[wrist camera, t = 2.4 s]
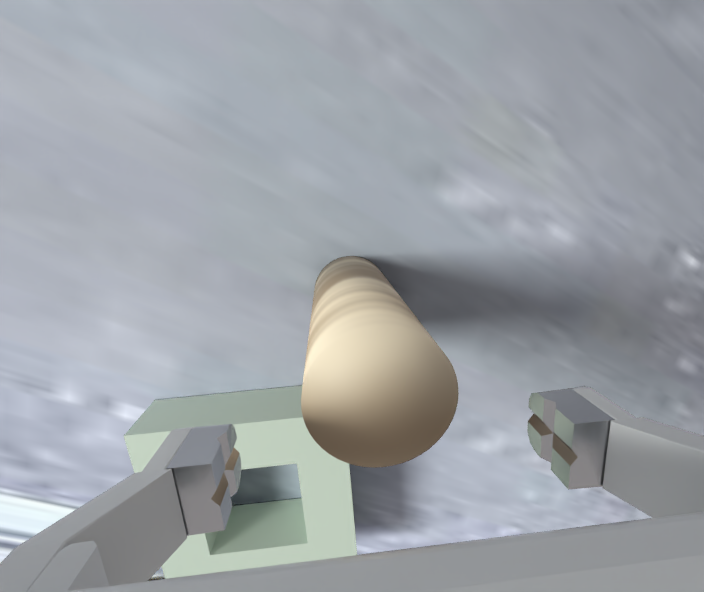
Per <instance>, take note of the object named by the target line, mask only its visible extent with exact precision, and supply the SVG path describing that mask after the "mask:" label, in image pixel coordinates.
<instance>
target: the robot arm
mask: <svg viewBox="0 0 704 592" xmlns="http://www.w3.org/2000/svg"><path fill="white" fill-rule="evenodd" d="M529 408H530V410H531V411H532V412H533V415H532V417H531V418H530V419H529V421H528V436H529V439H530V443H531V445H532V447H533V449H534V450H535V452H536V453H537V454H538V455H539V456H540V457H541V458H543V459H545V460H547V461H549V462H551V470H552V471H553V473H554V474H555V475H556V476H557V477H558V478H559V479H560V481H561V482H562V483H563V484H564V485H565V486H566V487H567V488H568V489H578V488H590V487H601V486H603V489H605V490H607V491H608V492H610V493H612V494H613V495H615V496H617V497H618V498H620V499H622V500H624V501H625V502H627V503H629V504H630V505H632V506H634V507H635V508H637V509H639V510H640V511H642V512H644V513H646V514H647V515H649V516H651V517H652V518H649V519H641V520H633V521H625V522H617V523H608V524H600V525H592V526H584V527H576V528H568V529H560V530H552V531H544V532H536V533H528V534H520V535H512V536H504V537H496V538H488V539H480V540H472V541H465V542H457V543H449V544H441V545H433V546H425V547H417V548H409V549H401V550H393V551H385V552H377V553H369V554H361V555H353V556H345V557H337V558H329V559H321V560H313V561H305V562H296V563H288V564H280V565H272V566H264V567H256V568H248V569H240V570H232V571H224V572H216V573H208V574H200V575H192V576H184V577H176V578H168V579H160V580H152V581H148V580H149V579H150V578H151V577H152V576H153V575H154V574H155V573H156V571H157V570H158V569H159V568H160V567H161V566H162V565H163V564H164V563H165V562H166V561H167V560H168V558H169V557H170V556H171V555H172V554H173V553H174V552H175V551H176V550H177V549H178V548H179V547H180V545H181V544H182V543H183V542H184V541H185V540H186V539H187V536H189V535H196V534H203V533H210V532H216V531H223V530H225V528H226V525H227V522H228V519H229V516H230V513H231V509H232V501H231V497H232V496H233V495H234V494H235V493H236V492H237V491H238V487H239V484H240V478H241V458H240V453H239V452H238V451H237V450H236V449H235V448H234V445H235V442H236V440H237V435H236V431H235V427H234V426H233V424H224V425H212V426H200V427H188V428H179V429H174V430H172V431H171V432H170V433H169V434H168V436H167V437H166V439H165V440H164V441H163V443H162V444H161V446H160V447H159V448H158V450H157V451H156V453H155V454H154V455H153V457H152V458H151V459H150V461H149V462H148V464H147V465H146V466H145V468H144V469H143V471H142V472H137V473H134V474H132V475H131V476H129V477H127V478H126V479H124V480H123V481H121V482H119V483H118V484H116V485H115V486H113V487H111V488H110V489H108V490H107V491H105V492H103V493H102V494H100V495H99V496H97V497H95V498H94V499H92V500H91V501H89V502H88V503H86V504H84V505H83V506H81V507H80V508H78V509H76V510H75V511H73V512H72V513H70V514H68V515H67V516H65V517H64V518H62V519H60V520H59V521H57V522H56V523H54V524H52V525H51V526H49V527H48V528H46V529H44V530H43V531H41V532H40V533H38V534H37V535H35V536H33V537H32V538H30V539H29V540H27V541H25V542H24V543H22V544H21V545H19V546H17V547H16V548H14V549H13V551H12V552H11V553H10V554H9V555H8V556H7V557H6V558H5V559H4V560H3V561H2V562H1V563H0V592H704V436H703V435H699V434H696V433H693V432H689V431H686V430H683V429H680V428H676V427H673V426H670V425H666V424H663V423H660V422H657V421H653V420H650V419H647V418H644V417H639V418H636V417H635V416H633V415H632V414H630V413H629V412H627V411H626V410H624V409H623V408H621V407H620V406H618V405H617V404H615V403H614V402H612V401H610V400H609V399H607V398H606V397H604V396H603V395H601V394H600V393H598V392H597V391H595V390H594V389H592V388H591V387H586V386H582V387H575V388H568V389H561V390H554V391H546V392H538V393H532V394H531V396H530V398H529Z"/></svg>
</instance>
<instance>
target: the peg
mask: <svg viewBox="0 0 704 592" xmlns="http://www.w3.org/2000/svg"><path fill="white" fill-rule="evenodd" d="M457 403H458V383H457V378H456V374H455V371H454V369H453V366H452V364H451V363H450V361H449V359H448V358H447V356H446V355H445V354H444V352H443V351H442V350H441V349H440V347H439V346H438V345H437V343H436V342H435V341H434V340H433V338H432V337H431V336H430V334H429V333H428V332H427V331H426V329H425V328H424V327H423V325H422V324H421V323H420V321H419V320H418V319H417V318H416V316H415V315H414V314H413V312H412V311H411V310H410V309H409V307H408V306H407V305H406V303H405V302H404V301H403V300H402V298H401V297H400V296H399V294H398V293H397V292H396V291H395V289H394V288H393V287H392V285H391V284H390V283H389V282H388V280H387V279H386V278H385V276H384V275H383V274H382V273H381V271H380V270H379V269H378V268H377V267H376V266H375V265H374V264H373V263H372V262H370V261H368V260H367V259H364V258H361V257H357V256H346V257H341V258H338V259H336V260H334V261H332V262H330V263H329V264H328V265H326V266H325V267H324V268H323V270H322V271H321V272H320V274H319V276H318V278H317V280H316V284H315V290H314V298H313V306H312V314H311V322H310V330H309V338H308V346H307V354H306V362H305V370H304V378H303V386H302V395H301V410H302V415H303V419H304V422H305V425H306V428H307V429H308V431H309V433H310V435H311V436H312V438H313V439H314V440H315V442H316V443H317V444H318V445H319V446H320V447H321V448H322V449H323V450H325V451H326V452H327V453H328V454H330V455H332V456H333V457H335V458H337V459H339V460H341V461H343V462H346V463H349V464H352V465H356V466H362V467H387V466H393V465H397V464H400V463H404V462H406V461H409V460H411V459H413V458H415V457H417V456H419V455H421V454H422V453H424V452H425V451H427V450H428V449H429V448H431V447H432V446H433V445H434V444H435V443H436V442H437V441H438V440H439V439H440V438H441V437H442V436H443V434H444V433H445V431H446V430H447V429H448V427H449V425H450V423H451V421H452V419H453V417H454V414H455V411H456V407H457Z"/></svg>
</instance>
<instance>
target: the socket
mask: <svg viewBox="0 0 704 592" xmlns="http://www.w3.org/2000/svg"><path fill="white" fill-rule="evenodd" d="M302 386H303V385H301V386H291V387H281V388H271V389H261V390H250V391H240V392H230V393H220V394H210V395H200V396H190V397H180V398H170V399H160V400H154V401H153V402H152V404H151V405H150V406H149V407H148V408H147V409H146V411H145V412H144V413H143V414H142V415H141V416H140V418H139V419H138V420H137V421H136V422H135V423H134V425H133V426H132V427H131V428H130V429H129V430H128V432H127V433H126V434H125V435H124V439H125V442H126V445H127V449H128V452H129V456H130V459H131V463H132V466H133V470H134V473H137V472H142V471H143V469H144V468H145V466H146V465H147V464H148V462H149V461H150V459H151V458H152V457H153V455H154V454H155V453H156V451H157V450H158V448H159V447H160V446H161V444H162V443H163V441H164V440H165V439H166V437H167V436H168V434H169V433H170V432H171V431H172V430H174V429H179V428H188V427H200V426H212V425H224V424H233V426H234V427H235V431H236V435H237V440H236V442H235V445H234V448H235V449H236V450H237V451H238V452H239V453H240V458H241V470H242V469H251V468H260V467H269V466H278V465H287V464H296V463H297V467H298V475H299V482H300V490H301V497H302V498H297V499H289V500H280V501H272V502H263V503H254V504H246V505H237V506H232V509H231V513H230V516H229V519H228V522H227V525H226V528H225V530H223V531H216V532H210V533H203V534H196V535H189V536H187V539H186V540H185V541H184V542H183V543H182V544H181V545H180V547H179V548H178V549H177V550H176V551H175V552H174V553H173V554H172V555H171V556H170V557H169V558H168V560H167V561H166V562H165V563H164V564H163V565H162V569H163V573H164V576H165V579H168V578H176V577H184V576H192V575H200V574H208V573H216V572H224V571H232V570H240V569H248V568H256V567H264V566H272V565H280V564H288V563H296V562H305V561H313V560H321V559H329V558H337V557H345V556H353V555H357V548H356V537H355V525H354V514H353V502H352V490H351V479H350V467H349V463H346V462H343V461H341V460H339V459H337V458H335V457H333V456H332V455H330V454H328V453H327V452H326V451H325V450H323V449H322V448H321V447H320V446H319V445H318V444H317V443H316V442H315V440H314V439H313V438H312V436H311V435H310V433H309V431H308V429H307V428H306V425H305V422H304V419H303V415H302V410H301V395H302Z"/></svg>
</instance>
